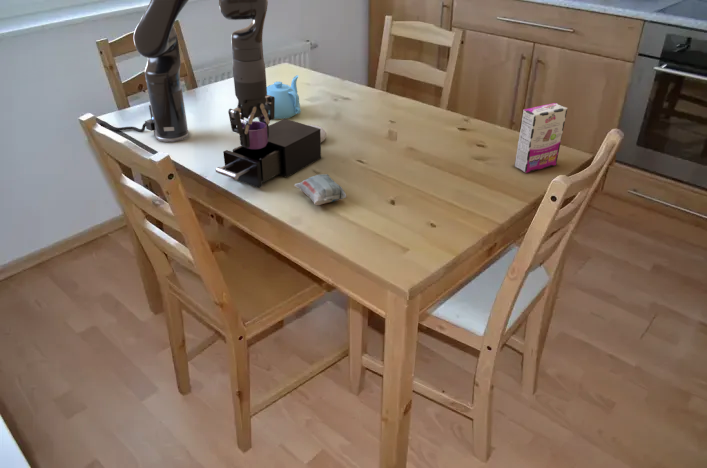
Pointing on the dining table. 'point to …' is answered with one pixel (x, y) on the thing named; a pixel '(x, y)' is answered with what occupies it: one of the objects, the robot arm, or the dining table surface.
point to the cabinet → (295, 144)
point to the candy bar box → (540, 137)
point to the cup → (257, 135)
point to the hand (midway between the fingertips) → (255, 142)
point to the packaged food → (321, 189)
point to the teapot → (285, 99)
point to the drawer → (252, 164)
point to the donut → (322, 131)
